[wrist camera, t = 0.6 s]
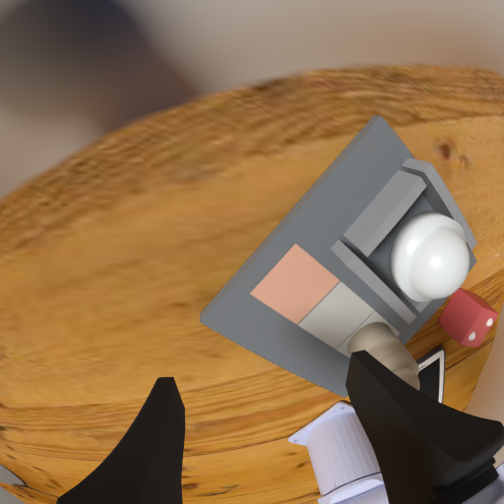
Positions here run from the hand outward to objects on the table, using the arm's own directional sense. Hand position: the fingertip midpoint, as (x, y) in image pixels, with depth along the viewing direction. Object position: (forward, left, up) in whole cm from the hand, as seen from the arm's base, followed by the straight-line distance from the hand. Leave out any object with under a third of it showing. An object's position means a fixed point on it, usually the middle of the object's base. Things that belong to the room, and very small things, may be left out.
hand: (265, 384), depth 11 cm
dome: (-7, -9, -7) cm, 14 cm away
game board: (-8, -5, -10) cm, 13 cm away
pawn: (-12, -2, -9) cm, 15 cm away
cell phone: (-28, 0, -10) cm, 30 cm away
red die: (-20, -10, -10) cm, 24 cm away
